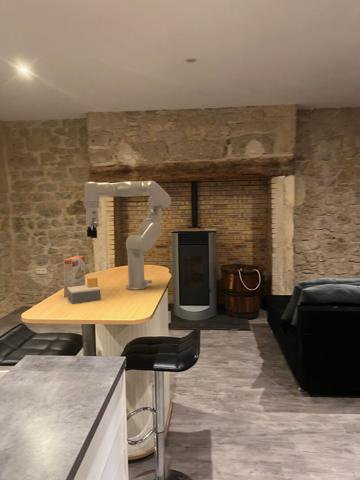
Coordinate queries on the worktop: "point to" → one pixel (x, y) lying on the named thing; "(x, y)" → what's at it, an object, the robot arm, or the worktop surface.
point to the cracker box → (73, 272)
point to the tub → (84, 296)
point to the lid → (86, 286)
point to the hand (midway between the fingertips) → (91, 237)
